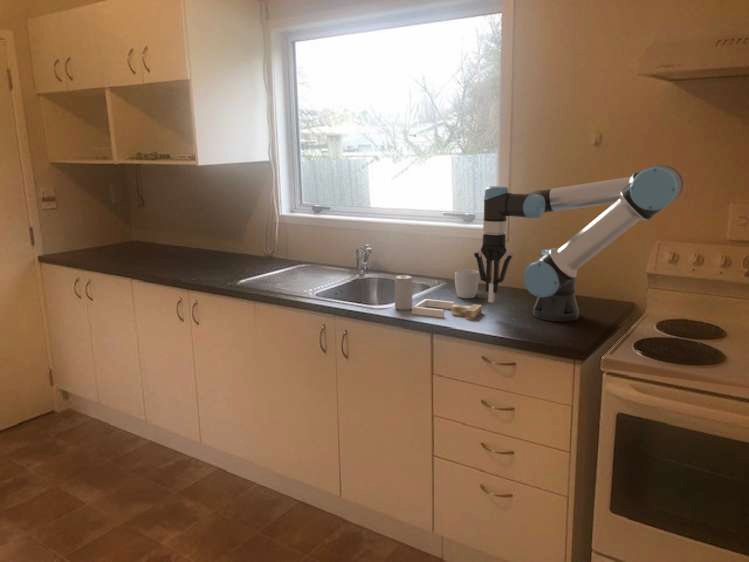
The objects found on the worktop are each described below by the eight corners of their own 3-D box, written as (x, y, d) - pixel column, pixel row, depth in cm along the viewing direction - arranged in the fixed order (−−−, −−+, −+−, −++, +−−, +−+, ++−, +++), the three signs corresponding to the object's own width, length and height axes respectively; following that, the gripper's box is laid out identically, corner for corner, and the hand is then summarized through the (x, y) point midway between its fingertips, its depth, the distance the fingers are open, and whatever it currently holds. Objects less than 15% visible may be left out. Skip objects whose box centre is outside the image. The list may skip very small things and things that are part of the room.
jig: (454, 308, 225) (454, 302, 225) (443, 317, 214) (443, 310, 214) (424, 305, 230) (425, 299, 229) (412, 314, 219) (412, 307, 218)
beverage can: (411, 306, 229) (411, 274, 226) (413, 311, 223) (413, 278, 220) (394, 306, 229) (394, 275, 226) (395, 311, 223) (395, 278, 220)
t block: (481, 313, 219) (481, 305, 218) (474, 319, 211) (474, 311, 211) (457, 310, 223) (457, 302, 222) (448, 316, 215) (449, 308, 214)
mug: (470, 300, 236) (471, 275, 234) (450, 297, 242) (450, 272, 239) (486, 294, 246) (487, 269, 244) (467, 291, 251) (467, 266, 249)
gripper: (516, 232, 207) (512, 300, 213) (478, 230, 213) (476, 296, 218) (511, 235, 201) (507, 306, 206) (472, 233, 206) (469, 301, 211)
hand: (491, 301), depth 212 cm, fingers closed
